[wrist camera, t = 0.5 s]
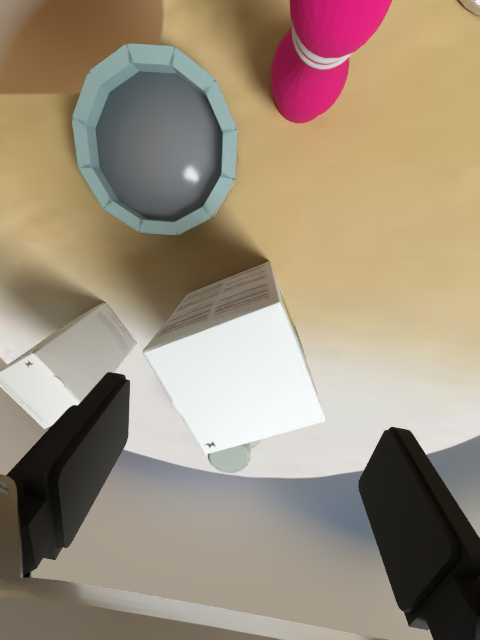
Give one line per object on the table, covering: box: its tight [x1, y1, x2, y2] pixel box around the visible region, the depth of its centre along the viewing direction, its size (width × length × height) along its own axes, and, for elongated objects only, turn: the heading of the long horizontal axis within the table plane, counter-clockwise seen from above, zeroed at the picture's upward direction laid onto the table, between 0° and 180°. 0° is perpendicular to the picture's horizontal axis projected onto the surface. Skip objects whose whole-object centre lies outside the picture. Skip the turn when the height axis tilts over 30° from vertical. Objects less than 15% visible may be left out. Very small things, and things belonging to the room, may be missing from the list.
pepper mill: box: [271, 0, 392, 123], centre depth 22 cm, size 7×7×20 cm
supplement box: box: [143, 261, 325, 455], centre depth 34 cm, size 13×13×18 cm
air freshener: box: [208, 439, 262, 473], centre depth 44 cm, size 11×8×10 cm
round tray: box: [72, 43, 238, 235], centre depth 33 cm, size 18×18×3 cm
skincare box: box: [0, 302, 137, 429], centre depth 37 cm, size 8×7×16 cm
